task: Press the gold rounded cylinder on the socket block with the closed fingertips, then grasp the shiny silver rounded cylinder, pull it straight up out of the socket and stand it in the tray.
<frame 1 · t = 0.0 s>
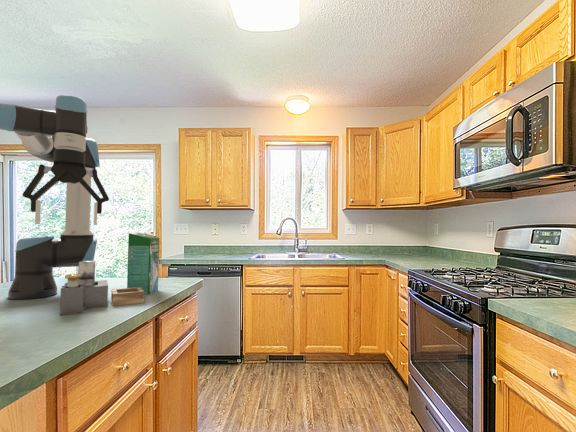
hand: (67, 224, 92), 28 cm above the counter, fingers open, 13 cm apart
milk carton: (142, 292, 135), on the counter
tray: (127, 301, 118), on the counter
gold rounded cylinder: (73, 285, 104), point 8 cm above the counter, slide at 0.0 cm
shiny silver rounded cylinder: (86, 295, 113), point 3 cm above the counter, touching socket block
socket block: (85, 304, 113), on the counter
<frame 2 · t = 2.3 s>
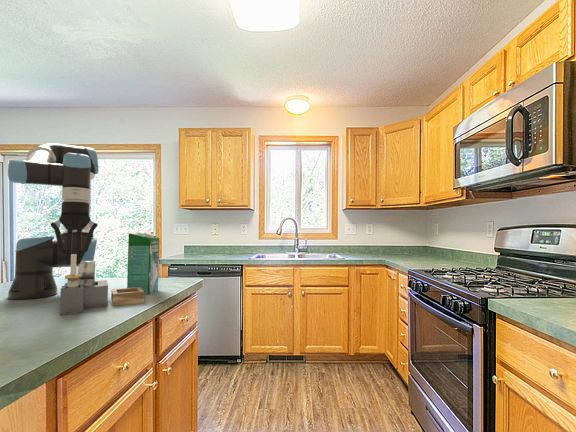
hand: (73, 274, 103), 12 cm above the counter, fingers closed
gold rounded cylinder: (72, 285, 104), point 8 cm above the counter, slide at 0.2 cm, touching gripper
everything else where it was.
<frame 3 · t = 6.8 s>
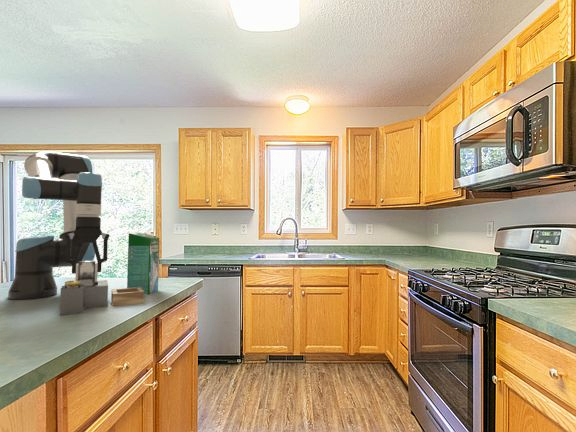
hand: (86, 282, 113), 8 cm above the counter, fingers closed on shiny silver rounded cylinder, 5 cm apart
gold rounded cylinder: (72, 292, 103), point 6 cm above the counter, slide at 2.2 cm
shiny silver rounded cylinder: (86, 295, 113), point 3 cm above the counter, touching gripper, socket block
everything else where it was.
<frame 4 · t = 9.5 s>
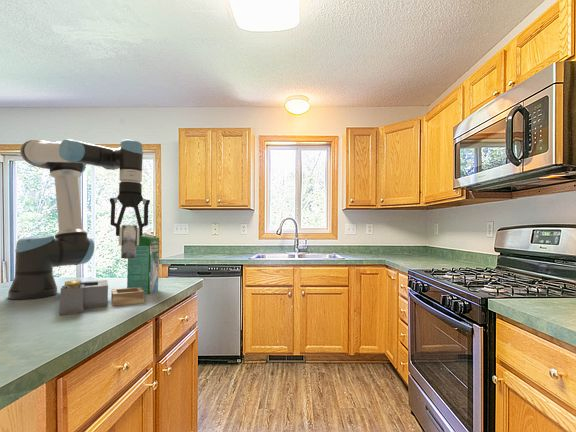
hand: (128, 244, 119), 21 cm above the counter, fingers closed on shiny silver rounded cylinder, 5 cm apart
shiny silver rounded cylinder: (128, 257, 119), point 16 cm above the counter, touching gripper
everything else where it was.
when the fingers open (7 cm above the counter, at t = 12.2 s): shiny silver rounded cylinder stays where it is, resting on tray.
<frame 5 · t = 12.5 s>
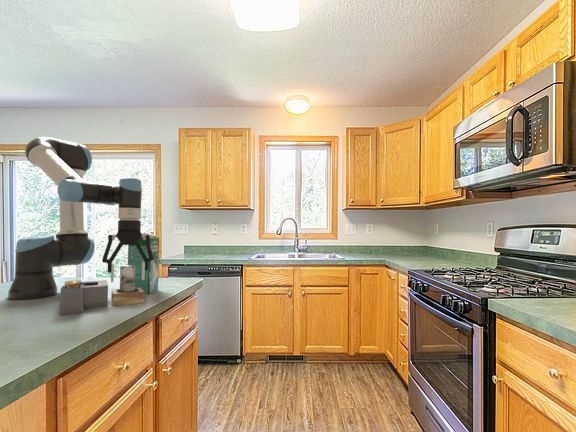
hand: (127, 280, 118), 8 cm above the counter, fingers open, 9 cm apart
shiny silver rounded cylinder: (127, 298, 118), point 1 cm above the counter, touching tray
everything else where it was.
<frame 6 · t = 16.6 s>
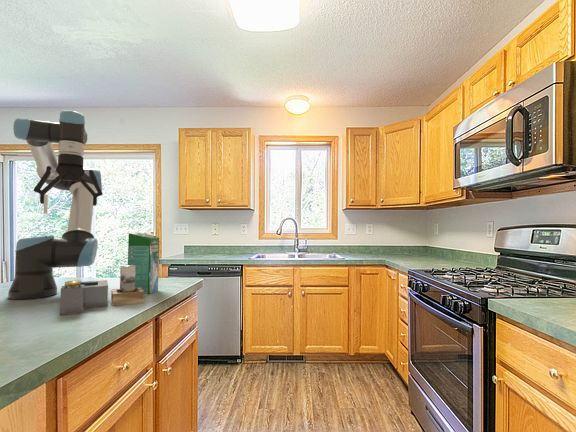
hand: (69, 214, 115), 32 cm above the counter, fingers open, 13 cm apart
nothing on the counter moved.
at the end: gold rounded cylinder slide at 2.2 cm; shiny silver rounded cylinder 0.0 cm off-centre on the tray, point 1.0 cm above the tray's base; shiny silver rounded cylinder tilted 1° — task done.
